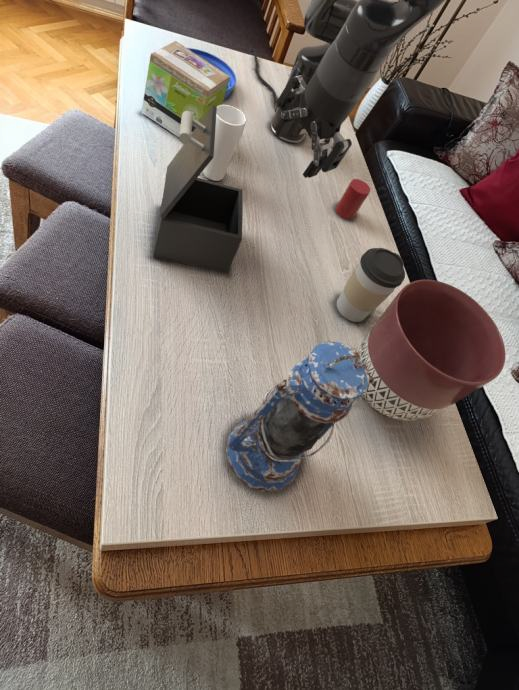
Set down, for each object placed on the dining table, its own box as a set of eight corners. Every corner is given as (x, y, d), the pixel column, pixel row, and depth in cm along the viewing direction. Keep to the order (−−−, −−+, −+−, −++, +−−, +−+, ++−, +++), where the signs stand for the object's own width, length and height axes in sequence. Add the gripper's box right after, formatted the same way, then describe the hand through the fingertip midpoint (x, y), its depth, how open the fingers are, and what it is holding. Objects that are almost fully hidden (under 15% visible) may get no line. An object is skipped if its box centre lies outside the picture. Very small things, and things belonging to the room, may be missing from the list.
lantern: (296, 413, 86) (386, 311, 62) (317, 483, 80) (425, 400, 56) (210, 422, 80) (274, 312, 56) (226, 498, 74) (304, 412, 50)
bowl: (169, 95, 124) (171, 81, 121) (162, 54, 133) (164, 41, 130) (238, 108, 131) (242, 96, 128) (227, 69, 140) (230, 56, 137)
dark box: (229, 225, 106) (242, 189, 98) (227, 273, 98) (242, 238, 91) (160, 208, 102) (168, 169, 94) (152, 257, 94) (161, 219, 87)
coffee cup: (345, 330, 100) (384, 283, 89) (323, 295, 104) (358, 245, 92) (378, 321, 105) (419, 275, 93) (356, 287, 108) (393, 239, 96)
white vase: (192, 173, 111) (209, 113, 99) (205, 159, 115) (222, 99, 103) (219, 188, 111) (239, 130, 99) (231, 173, 115) (251, 115, 104)
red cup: (334, 202, 122) (349, 176, 116) (353, 207, 124) (368, 182, 117) (336, 216, 119) (352, 190, 113) (355, 221, 121) (371, 196, 114)
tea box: (139, 114, 116) (148, 51, 105) (164, 99, 122) (175, 38, 111) (193, 149, 116) (209, 89, 104) (215, 132, 122) (232, 74, 110)
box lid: (217, 107, 84) (191, 89, 82) (213, 157, 77) (185, 139, 74) (170, 168, 94) (146, 154, 92) (163, 218, 87) (137, 204, 84)
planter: (440, 438, 93) (525, 384, 76) (349, 441, 86) (419, 382, 69) (408, 349, 103) (477, 284, 86) (324, 345, 96) (380, 274, 79)
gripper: (387, 113, 72) (332, 182, 86) (332, 36, 73) (286, 116, 88) (352, 125, 68) (300, 195, 83) (294, 43, 70) (253, 126, 84)
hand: (293, 154), depth 85 cm, fingers open, 8 cm apart
